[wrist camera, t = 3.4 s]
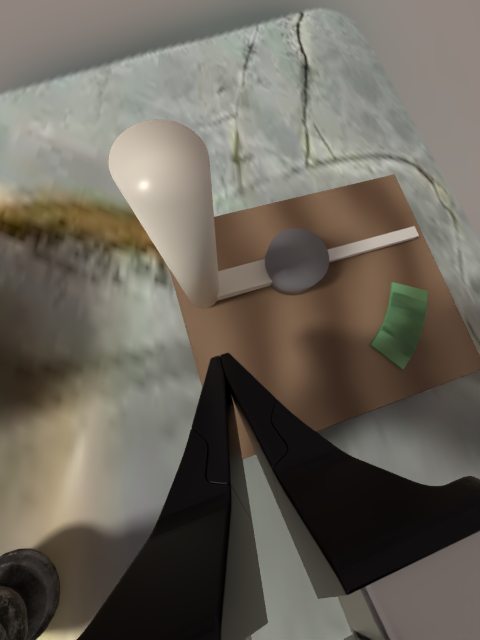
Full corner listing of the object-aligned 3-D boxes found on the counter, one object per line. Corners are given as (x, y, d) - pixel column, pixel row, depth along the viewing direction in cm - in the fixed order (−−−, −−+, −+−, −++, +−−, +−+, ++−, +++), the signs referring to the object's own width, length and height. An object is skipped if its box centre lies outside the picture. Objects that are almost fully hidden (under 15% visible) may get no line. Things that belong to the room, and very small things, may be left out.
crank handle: (196, 324, 16) (130, 253, 5) (180, 269, 16) (90, 96, 5) (420, 258, 18) (724, 108, 7) (399, 212, 18) (647, 8, 8)
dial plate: (224, 459, 15) (224, 467, 14) (162, 237, 18) (157, 228, 17) (470, 367, 18) (488, 367, 17) (386, 183, 20) (396, 172, 19)
